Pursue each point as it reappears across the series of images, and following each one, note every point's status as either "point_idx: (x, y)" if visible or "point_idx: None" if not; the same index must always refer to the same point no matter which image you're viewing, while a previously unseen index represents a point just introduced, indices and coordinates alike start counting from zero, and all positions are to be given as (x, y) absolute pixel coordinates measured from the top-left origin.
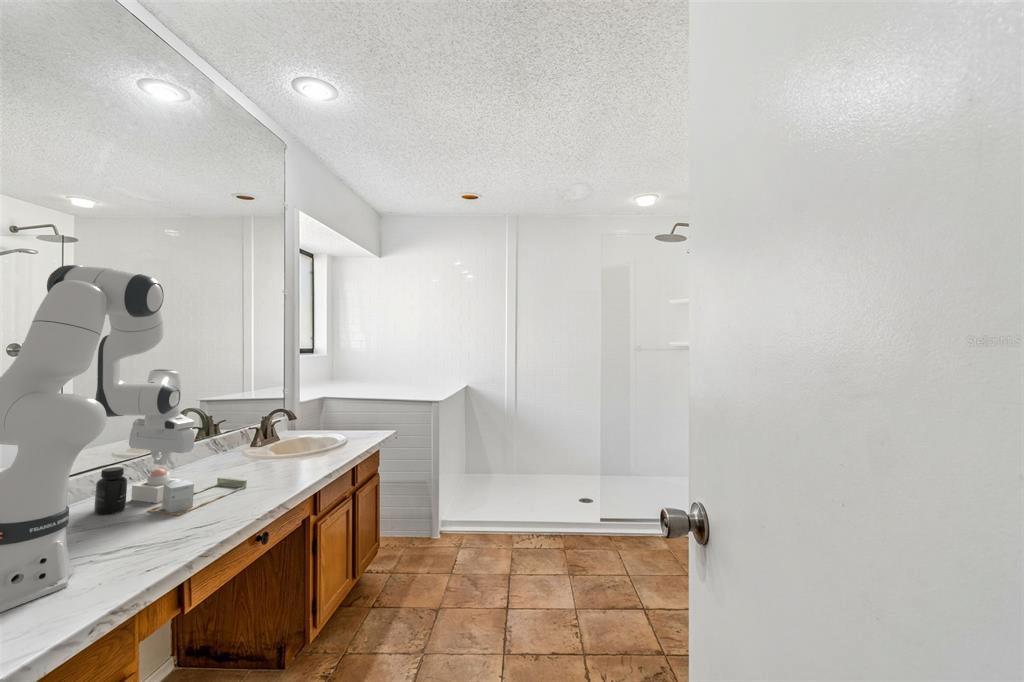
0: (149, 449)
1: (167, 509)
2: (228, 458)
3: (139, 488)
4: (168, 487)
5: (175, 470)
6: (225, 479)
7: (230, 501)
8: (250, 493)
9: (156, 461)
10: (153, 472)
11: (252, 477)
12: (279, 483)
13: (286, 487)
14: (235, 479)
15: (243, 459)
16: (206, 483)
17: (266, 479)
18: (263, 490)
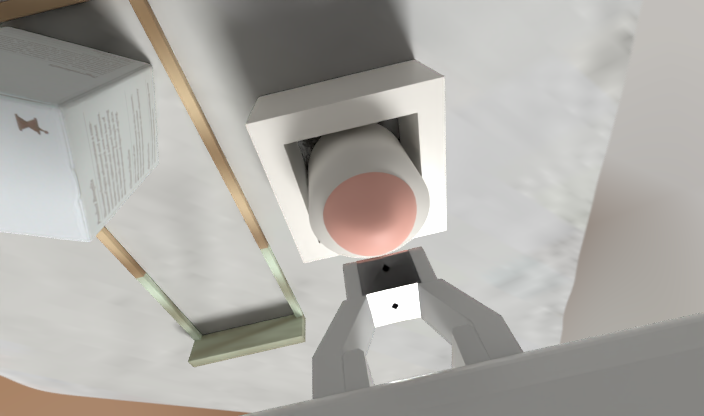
0: (528, 357)
1: (25, 33)
2: None
3: (382, 86)
4: None
5: (551, 311)
6: (267, 341)
7: (48, 261)
8: (114, 326)
9: (401, 270)
10: (376, 196)
11: (289, 376)
12: (167, 390)
13: (106, 387)
14: (234, 355)
15: None
16: None
17: (237, 386)
18: (122, 352)
